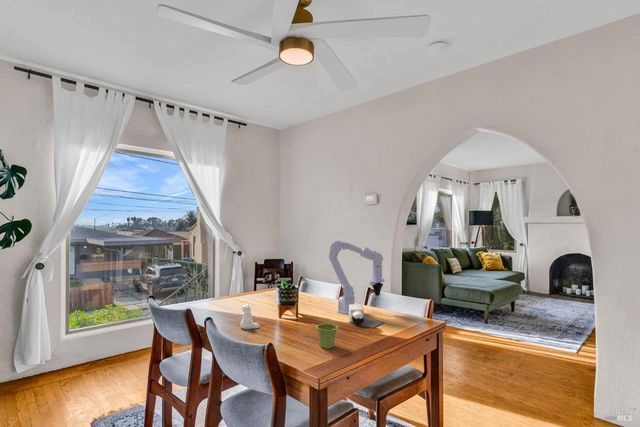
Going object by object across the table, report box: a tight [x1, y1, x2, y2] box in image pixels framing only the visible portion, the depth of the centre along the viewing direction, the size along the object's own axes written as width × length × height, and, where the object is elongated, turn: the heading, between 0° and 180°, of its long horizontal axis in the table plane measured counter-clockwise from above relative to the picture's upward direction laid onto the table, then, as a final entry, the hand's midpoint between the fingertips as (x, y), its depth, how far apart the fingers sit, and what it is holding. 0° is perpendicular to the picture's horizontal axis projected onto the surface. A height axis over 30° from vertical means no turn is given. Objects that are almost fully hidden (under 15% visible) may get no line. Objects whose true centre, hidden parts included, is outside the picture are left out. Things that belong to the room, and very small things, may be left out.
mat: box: [348, 317, 385, 329], centre depth 188 cm, size 15×12×1 cm
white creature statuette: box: [239, 303, 260, 330], centre depth 180 cm, size 10×9×12 cm
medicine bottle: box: [348, 303, 365, 326], centre depth 188 cm, size 7×7×12 cm
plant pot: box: [316, 323, 339, 349], centre depth 153 cm, size 9×9×9 cm
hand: (377, 295), depth 208 cm, fingers closed
